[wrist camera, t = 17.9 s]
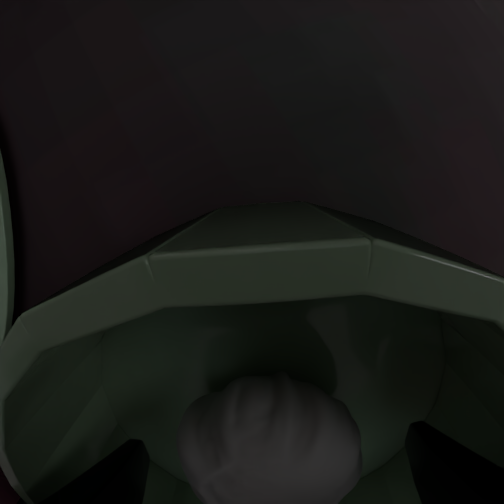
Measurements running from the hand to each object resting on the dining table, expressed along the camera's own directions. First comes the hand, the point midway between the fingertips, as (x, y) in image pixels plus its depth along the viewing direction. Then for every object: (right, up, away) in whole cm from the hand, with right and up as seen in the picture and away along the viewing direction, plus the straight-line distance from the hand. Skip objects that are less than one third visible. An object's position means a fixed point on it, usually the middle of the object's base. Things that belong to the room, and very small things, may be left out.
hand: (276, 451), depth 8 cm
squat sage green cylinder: (0, 0, +3) cm, 3 cm away
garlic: (0, 0, +2) cm, 2 cm away
